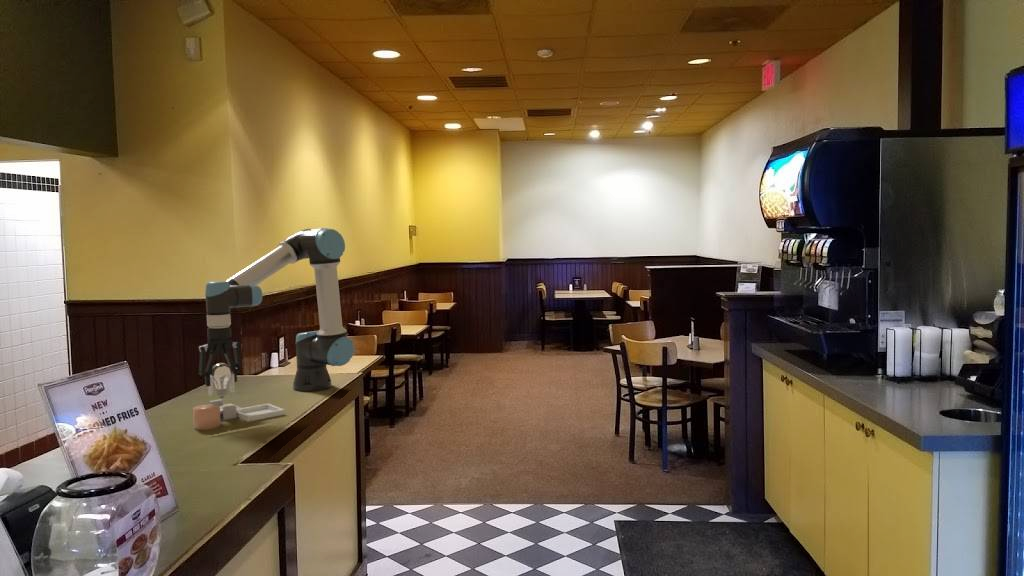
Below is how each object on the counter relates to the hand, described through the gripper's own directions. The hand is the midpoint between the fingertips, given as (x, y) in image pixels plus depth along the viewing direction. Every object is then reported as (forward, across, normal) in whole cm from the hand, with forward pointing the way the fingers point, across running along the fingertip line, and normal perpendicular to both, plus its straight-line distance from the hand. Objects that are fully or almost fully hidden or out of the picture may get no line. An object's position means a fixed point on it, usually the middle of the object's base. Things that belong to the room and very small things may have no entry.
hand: (221, 393), depth 242 cm
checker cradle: (+8, 0, 0) cm, 8 cm away
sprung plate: (+6, 0, 0) cm, 6 cm away
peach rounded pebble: (+8, +9, +10) cm, 16 cm away
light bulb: (+2, 0, 0) cm, 2 cm away
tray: (+8, -9, +8) cm, 15 cm away
